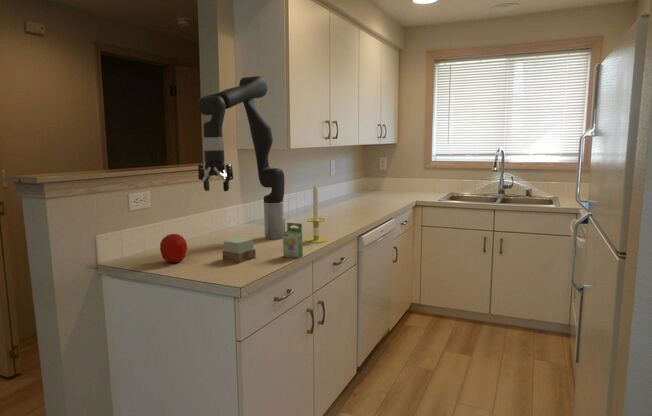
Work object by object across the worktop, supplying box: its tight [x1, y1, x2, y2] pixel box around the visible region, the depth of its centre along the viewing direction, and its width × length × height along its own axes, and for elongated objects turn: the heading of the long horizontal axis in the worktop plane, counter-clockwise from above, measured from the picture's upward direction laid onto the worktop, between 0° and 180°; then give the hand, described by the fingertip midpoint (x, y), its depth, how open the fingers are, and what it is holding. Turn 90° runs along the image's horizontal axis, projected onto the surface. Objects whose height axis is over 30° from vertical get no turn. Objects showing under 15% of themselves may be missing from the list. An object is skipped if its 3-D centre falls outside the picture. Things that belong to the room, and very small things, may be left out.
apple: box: [159, 233, 188, 264], centre depth 179 cm, size 10×10×12 cm
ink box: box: [282, 222, 304, 259], centre depth 184 cm, size 7×4×13 cm, turn 63°
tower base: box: [222, 248, 256, 264], centre depth 182 cm, size 9×9×4 cm
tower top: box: [223, 236, 254, 253], centre depth 181 cm, size 8×8×4 cm
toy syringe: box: [305, 183, 328, 244], centre depth 212 cm, size 10×10×27 cm
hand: (216, 190), depth 181 cm, fingers open, 8 cm apart
